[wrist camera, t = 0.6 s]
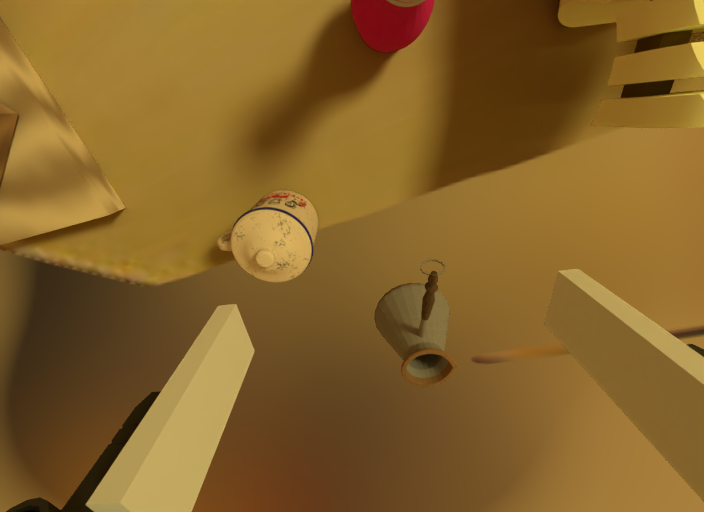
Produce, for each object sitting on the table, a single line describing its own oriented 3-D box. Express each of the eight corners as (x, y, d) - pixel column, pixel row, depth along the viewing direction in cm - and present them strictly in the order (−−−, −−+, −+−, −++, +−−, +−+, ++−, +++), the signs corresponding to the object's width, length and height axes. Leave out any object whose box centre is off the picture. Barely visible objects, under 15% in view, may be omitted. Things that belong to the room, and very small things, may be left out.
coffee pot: (442, 328, 48) (478, 412, 34) (375, 334, 48) (385, 419, 35) (448, 209, 38) (501, 262, 24) (364, 218, 38) (371, 275, 25)
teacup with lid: (314, 183, 36) (299, 212, 26) (325, 246, 40) (316, 292, 30) (224, 194, 37) (175, 227, 26) (244, 254, 41) (209, 303, 30)
